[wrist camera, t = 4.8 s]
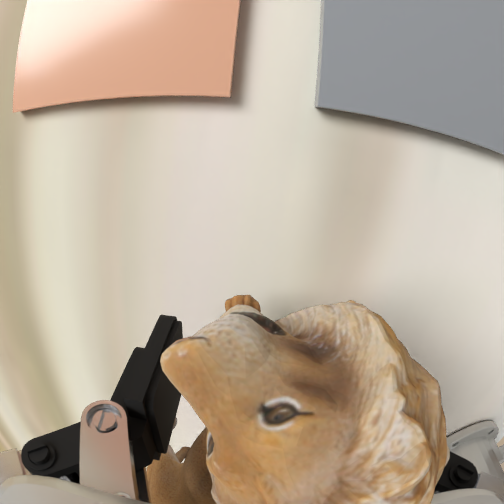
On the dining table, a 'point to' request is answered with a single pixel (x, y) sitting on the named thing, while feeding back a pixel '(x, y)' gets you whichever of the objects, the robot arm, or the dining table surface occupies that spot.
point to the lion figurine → (302, 412)
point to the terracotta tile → (124, 50)
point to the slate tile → (416, 64)
